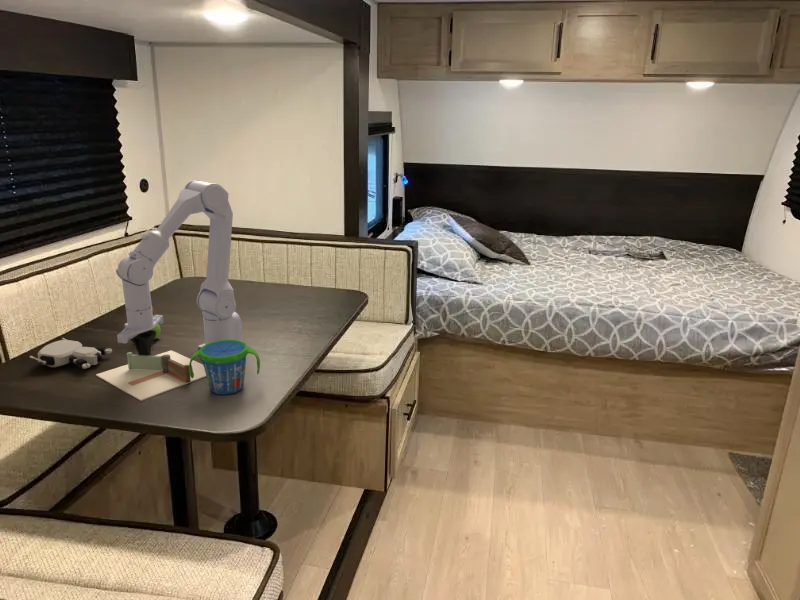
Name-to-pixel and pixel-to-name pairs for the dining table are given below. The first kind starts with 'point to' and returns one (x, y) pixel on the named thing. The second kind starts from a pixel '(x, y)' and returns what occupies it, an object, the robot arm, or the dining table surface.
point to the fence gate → (144, 362)
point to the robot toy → (70, 354)
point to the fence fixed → (175, 368)
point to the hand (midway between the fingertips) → (145, 360)
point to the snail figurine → (157, 327)
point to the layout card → (150, 378)
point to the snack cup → (224, 365)
